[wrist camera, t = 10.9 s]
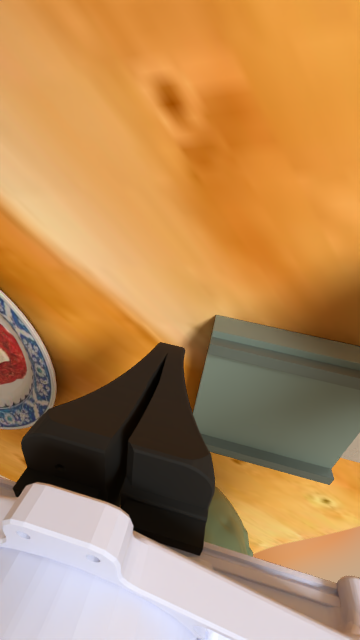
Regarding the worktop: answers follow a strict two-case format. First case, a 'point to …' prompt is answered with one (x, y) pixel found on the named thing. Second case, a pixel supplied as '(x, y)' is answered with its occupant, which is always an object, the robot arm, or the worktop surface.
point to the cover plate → (353, 450)
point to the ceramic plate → (22, 370)
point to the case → (278, 398)
